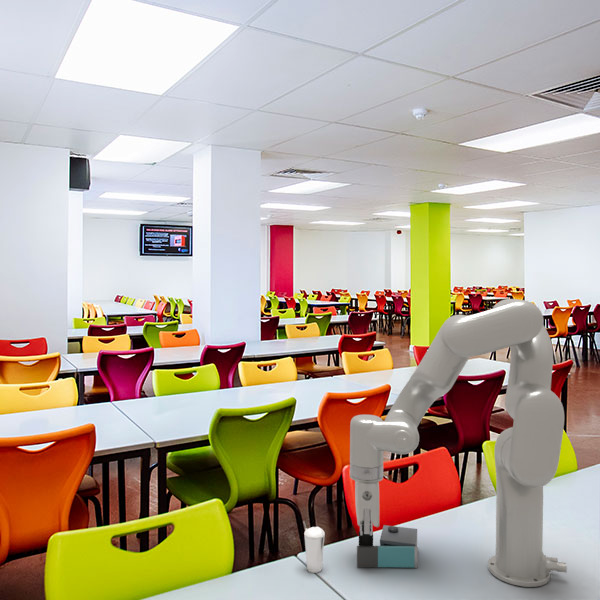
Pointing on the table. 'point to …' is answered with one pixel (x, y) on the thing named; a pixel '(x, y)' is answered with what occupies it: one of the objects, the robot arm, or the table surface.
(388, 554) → the door
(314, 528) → the milkshake
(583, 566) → the table surface
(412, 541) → the camera case
